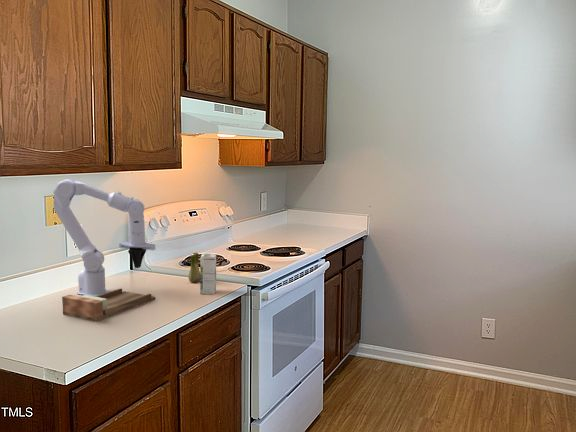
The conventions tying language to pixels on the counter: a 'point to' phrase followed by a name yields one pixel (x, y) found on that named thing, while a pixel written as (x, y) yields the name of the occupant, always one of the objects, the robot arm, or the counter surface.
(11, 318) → the counter surface
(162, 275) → the counter surface
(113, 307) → the track
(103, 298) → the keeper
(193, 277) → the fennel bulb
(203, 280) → the syrup box
